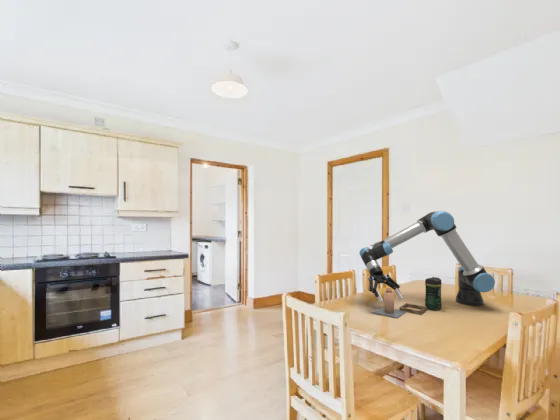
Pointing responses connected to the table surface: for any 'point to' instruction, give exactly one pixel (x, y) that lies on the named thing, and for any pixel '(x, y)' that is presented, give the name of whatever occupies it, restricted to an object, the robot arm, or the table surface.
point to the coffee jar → (433, 293)
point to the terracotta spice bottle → (389, 301)
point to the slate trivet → (394, 315)
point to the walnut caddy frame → (404, 308)
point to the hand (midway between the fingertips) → (391, 300)
